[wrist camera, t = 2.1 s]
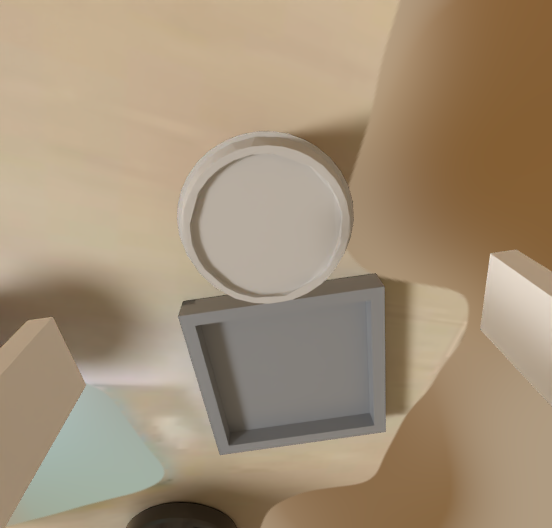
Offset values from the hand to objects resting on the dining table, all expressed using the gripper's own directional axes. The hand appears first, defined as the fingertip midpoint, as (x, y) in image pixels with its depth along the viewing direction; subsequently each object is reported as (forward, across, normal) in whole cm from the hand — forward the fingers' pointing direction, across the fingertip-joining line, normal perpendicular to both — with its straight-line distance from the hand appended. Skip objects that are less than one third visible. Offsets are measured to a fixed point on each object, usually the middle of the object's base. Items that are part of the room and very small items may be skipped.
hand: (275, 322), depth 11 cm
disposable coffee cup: (+20, 0, 0) cm, 20 cm away
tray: (+20, 0, +19) cm, 28 cm away
